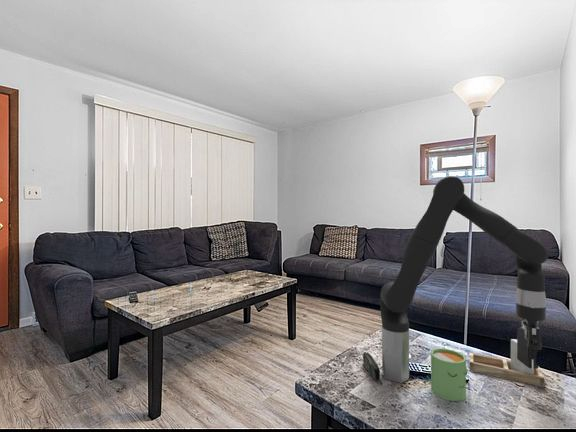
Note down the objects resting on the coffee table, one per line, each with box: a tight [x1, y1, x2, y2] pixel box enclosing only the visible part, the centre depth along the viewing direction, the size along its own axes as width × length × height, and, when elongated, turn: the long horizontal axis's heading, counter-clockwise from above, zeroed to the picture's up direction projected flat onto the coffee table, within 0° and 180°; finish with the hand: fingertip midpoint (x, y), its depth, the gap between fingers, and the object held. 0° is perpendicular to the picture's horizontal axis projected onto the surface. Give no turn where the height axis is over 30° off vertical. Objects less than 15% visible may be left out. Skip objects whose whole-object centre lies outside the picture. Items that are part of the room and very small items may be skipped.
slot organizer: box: [469, 352, 546, 388], centre depth 112 cm, size 9×22×3 cm, turn 59°
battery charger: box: [516, 326, 543, 369], centre depth 98 cm, size 7×4×11 cm, turn 173°
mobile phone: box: [362, 352, 383, 386], centre depth 111 cm, size 5×3×15 cm
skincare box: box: [510, 338, 534, 375], centre depth 109 cm, size 6×4×12 cm
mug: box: [430, 348, 468, 402], centre depth 100 cm, size 13×10×12 cm
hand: (529, 353), depth 98 cm, fingers closed on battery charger, 7 cm apart
